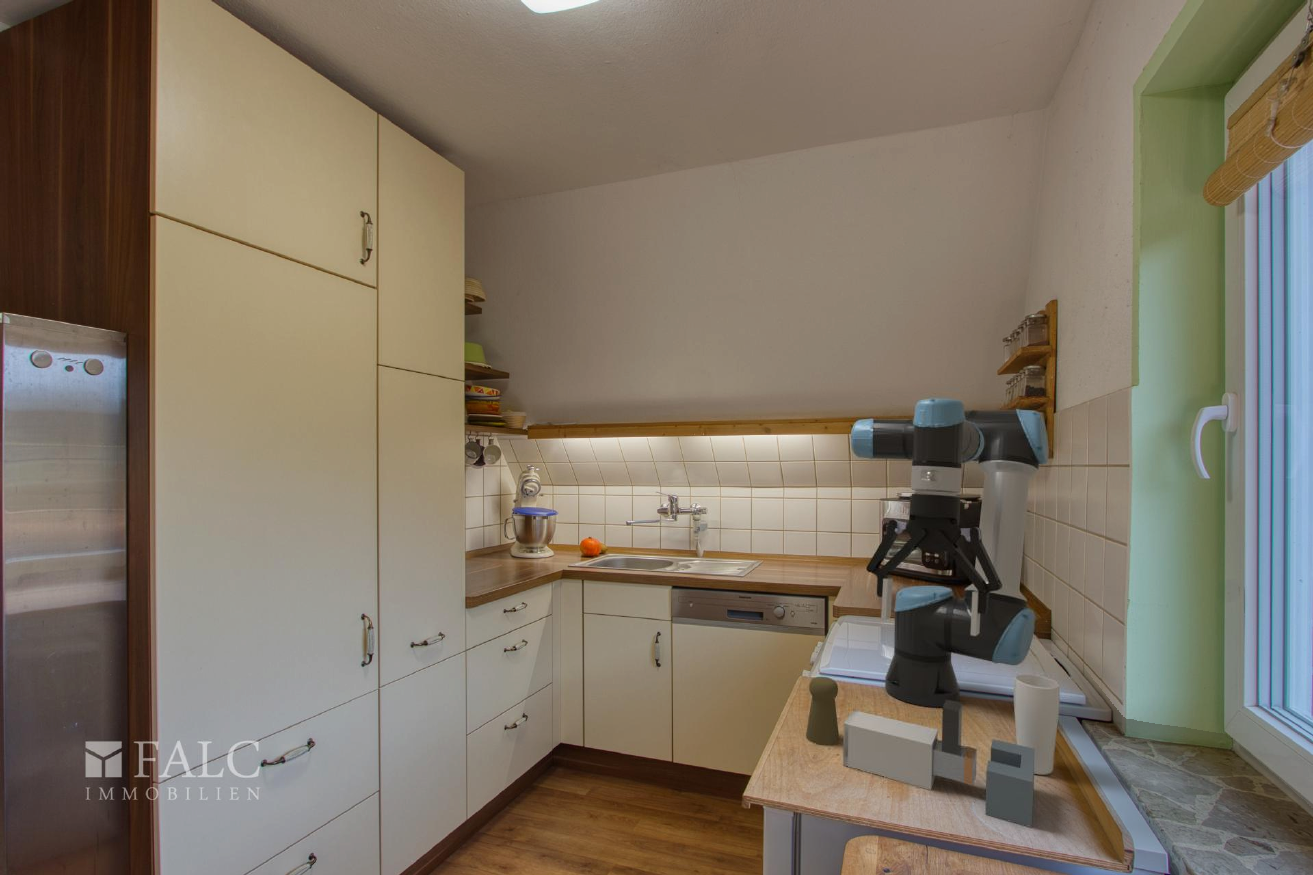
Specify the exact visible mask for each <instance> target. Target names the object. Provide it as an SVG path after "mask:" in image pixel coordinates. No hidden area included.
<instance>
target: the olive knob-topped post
mask: <svg viewBox="0 0 1313 875" xmlns="http://www.w3.org/2000/svg"><path fill="white" fill-rule="evenodd" d="M808 689H809V693H810V695H811V702H810V706H809V707H810V708H809V715H808V721H807V726H806V733H805V737H806V739H807V740H808V742H811V743H812V742H813V744H815V743H816V744H815V745H818V746H823V745H830V746H835V745H838V744H839V742H840V734H839V726H838V723H839V722H838V716H837V706H836V698H837V696H838V694H839V693H838V692H839V686H838V684H837V682H836V681H835V679H832V678H830V677H827V676H815V677H812V679H811V680H810V681H809V685H808Z"/></svg>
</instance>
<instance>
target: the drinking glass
mask: <svg viewBox="0 0 1313 875" xmlns="http://www.w3.org/2000/svg"><path fill="white" fill-rule="evenodd" d="M1060 693H1061V692H1060V684H1059V683H1058V682H1057V681H1056V680H1054V679H1052V678H1050V677H1046V676H1043V675H1038V674H1032V673H1031V674H1030V673H1021V674H1016V675H1015V676H1014V683H1013V707H1014V708H1013V710H1014V711H1013V712H1014V724H1015V726H1014V727H1015V735H1016V736H1015V738H1016V740H1015V741H1016V745H1021V746H1025V747H1030V748H1034V749H1035V752H1034V775H1040V776H1045V775H1050V774H1051V773H1052V772H1053V770H1054V758H1055V757H1054V756H1055V750H1056V749H1055V748H1056V742H1057V741H1056V738H1057V731H1058V724H1059V723H1058V722H1059V716H1060V701H1061V698H1060V697H1061V695H1060Z"/></svg>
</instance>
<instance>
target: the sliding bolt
mask: <svg viewBox="0 0 1313 875" xmlns="http://www.w3.org/2000/svg"><path fill="white" fill-rule="evenodd" d="M962 711H963V702H960V701H958V702H956V701H951V700H946V701H945V703H944V706H943V707H942V717H941V718H942V721H941V722H942V723H941V740H940V739H938V740H935V743H934V746H933V753H932V774H934V775H936V776H938V777H942V778H946V779H950V780H952V781H958V782H960V783H964V784H966V785H969V786H974V785H975V782H976V776H977V758H978V756H977V755H978V754H977V753H978V752H977V751H978V750H977V748H975V747H971V746H965V745H962V723H963V722H962V718H963V717H962V716H963V712H962Z"/></svg>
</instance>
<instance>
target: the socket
mask: <svg viewBox="0 0 1313 875" xmlns="http://www.w3.org/2000/svg"><path fill="white" fill-rule="evenodd" d="M1034 752H1035V749H1034V748H1030V747H1025V746H1021V745H1017V743H1011V742H1007V741H1003V740H999V739H994V738H992V740H991V746H990V760H987V767H986V772H985V773H986V774H985V776H986V778H985V779H986V780H985V815H986V816H990V817H993V818H997V819H1000V820H1003V819H1004V820H1003V821H1007V820H1010V821H1013V822H1012V823H1014V822H1017V823H1020V824H1019V825H1021V824H1024V825H1029V826H1032V827H1033V811H1034V808H1033V807H1034V790H1035V788H1034V787H1035V786H1034V784H1035V774H1034ZM1010 821H1009V822H1010ZM1017 823H1016V824H1017ZM1024 825H1023V826H1024Z"/></svg>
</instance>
